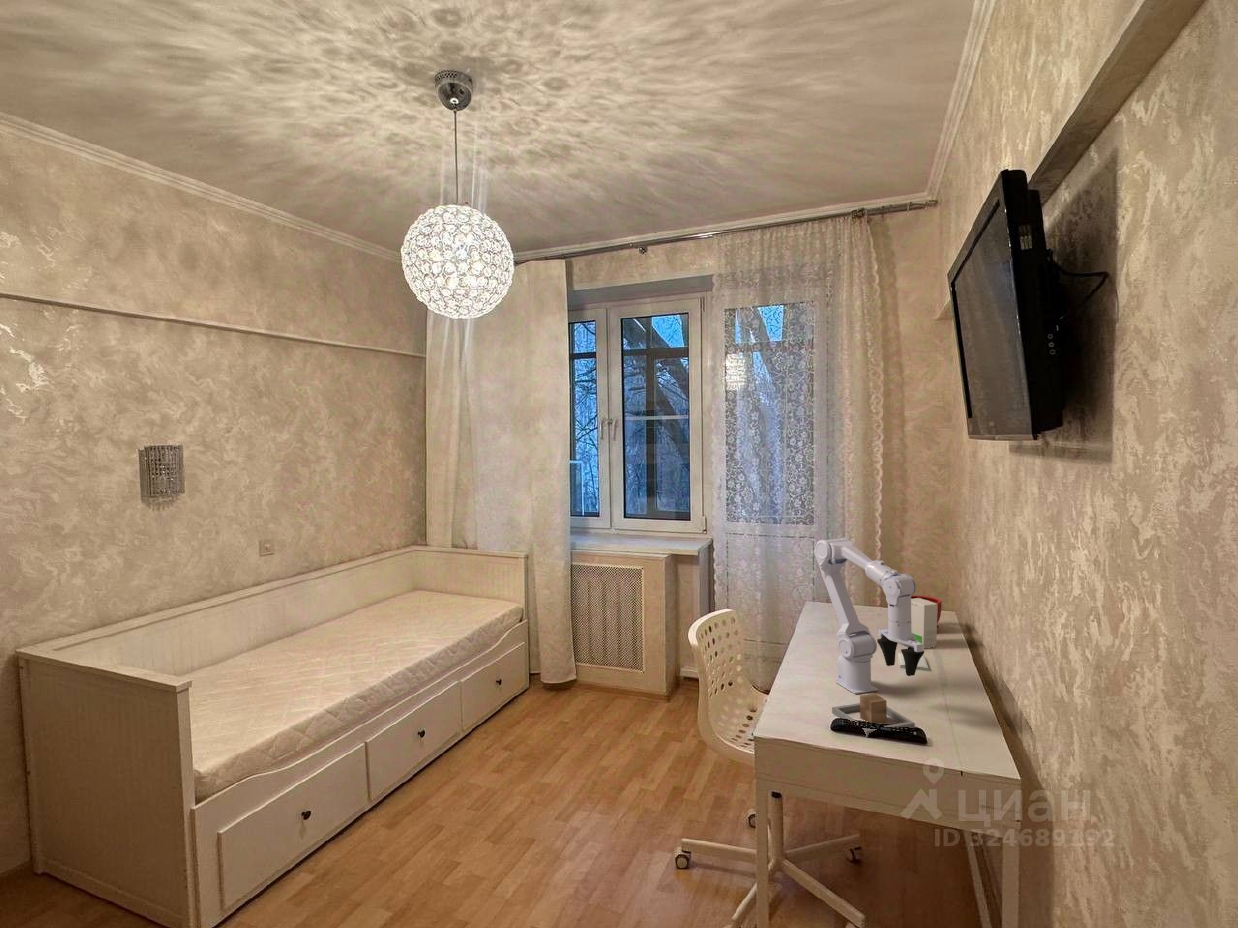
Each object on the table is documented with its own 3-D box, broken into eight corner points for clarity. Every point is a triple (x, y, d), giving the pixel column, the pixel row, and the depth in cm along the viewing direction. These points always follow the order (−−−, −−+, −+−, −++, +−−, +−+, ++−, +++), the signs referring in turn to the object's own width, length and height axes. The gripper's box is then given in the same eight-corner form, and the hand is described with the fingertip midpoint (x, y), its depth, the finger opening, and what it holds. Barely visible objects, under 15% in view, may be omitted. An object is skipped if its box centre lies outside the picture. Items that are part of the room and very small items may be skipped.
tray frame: (832, 712, 160) (832, 707, 160) (876, 705, 163) (876, 700, 163) (866, 737, 146) (866, 731, 146) (914, 728, 150) (914, 722, 150)
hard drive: (928, 667, 187) (924, 654, 199) (899, 664, 190) (897, 651, 202) (928, 673, 188) (924, 659, 199) (899, 669, 191) (897, 656, 202)
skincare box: (904, 642, 215) (904, 599, 214) (918, 639, 217) (918, 597, 216) (924, 649, 207) (923, 604, 206) (938, 647, 209) (938, 602, 209)
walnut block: (860, 718, 157) (859, 695, 156) (875, 715, 158) (874, 693, 158) (871, 725, 152) (871, 702, 152) (886, 723, 153) (886, 700, 153)
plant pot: (945, 636, 220) (944, 603, 220) (905, 633, 224) (905, 601, 224) (937, 625, 233) (937, 595, 233) (900, 623, 237) (900, 593, 237)
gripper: (932, 625, 155) (933, 677, 155) (893, 611, 169) (893, 659, 169) (909, 628, 153) (910, 681, 154) (871, 614, 167) (872, 662, 168)
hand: (900, 670), depth 161 cm, fingers open, 7 cm apart
